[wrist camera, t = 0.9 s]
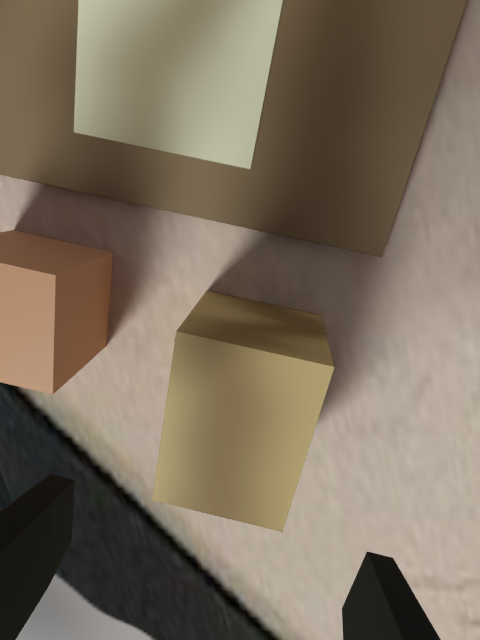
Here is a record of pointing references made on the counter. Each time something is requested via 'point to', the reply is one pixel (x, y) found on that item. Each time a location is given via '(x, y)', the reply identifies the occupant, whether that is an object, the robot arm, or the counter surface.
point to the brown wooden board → (227, 106)
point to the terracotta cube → (50, 309)
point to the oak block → (241, 408)
